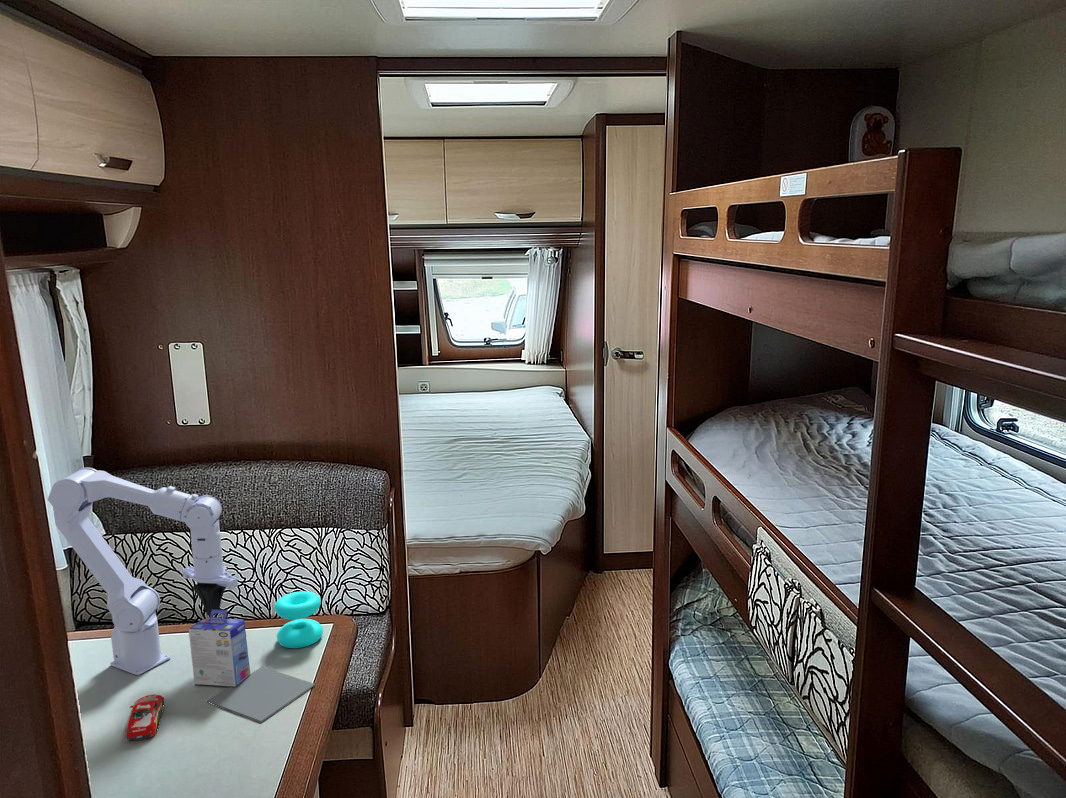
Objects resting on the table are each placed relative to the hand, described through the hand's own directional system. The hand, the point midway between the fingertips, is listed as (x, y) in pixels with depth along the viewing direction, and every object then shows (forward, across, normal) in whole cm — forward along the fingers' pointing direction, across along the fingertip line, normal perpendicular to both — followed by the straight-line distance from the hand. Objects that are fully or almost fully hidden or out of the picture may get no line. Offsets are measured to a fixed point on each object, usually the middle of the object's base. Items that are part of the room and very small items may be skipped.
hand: (213, 614), depth 161 cm
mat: (+10, -20, +6) cm, 23 cm away
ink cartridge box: (+10, -8, +6) cm, 15 cm away
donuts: (+11, -10, -14) cm, 21 cm away
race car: (+11, -7, +22) cm, 26 cm away
